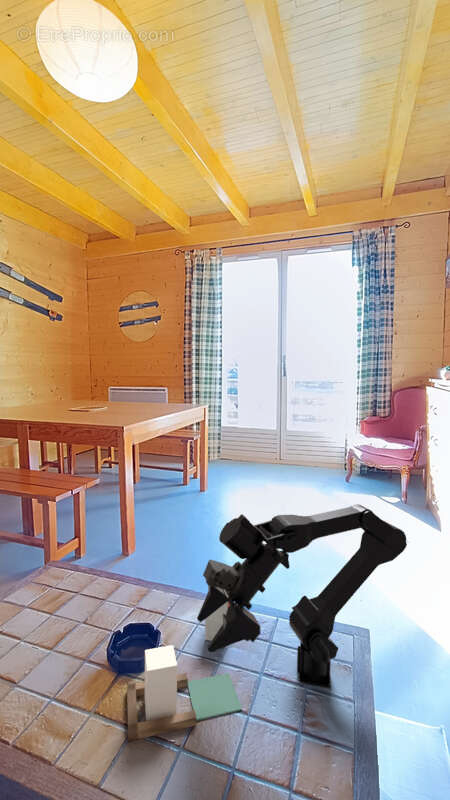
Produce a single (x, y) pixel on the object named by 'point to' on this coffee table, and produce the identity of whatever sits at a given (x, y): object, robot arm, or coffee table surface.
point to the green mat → (213, 696)
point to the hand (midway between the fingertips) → (203, 634)
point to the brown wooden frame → (157, 724)
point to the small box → (215, 622)
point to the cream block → (160, 682)
